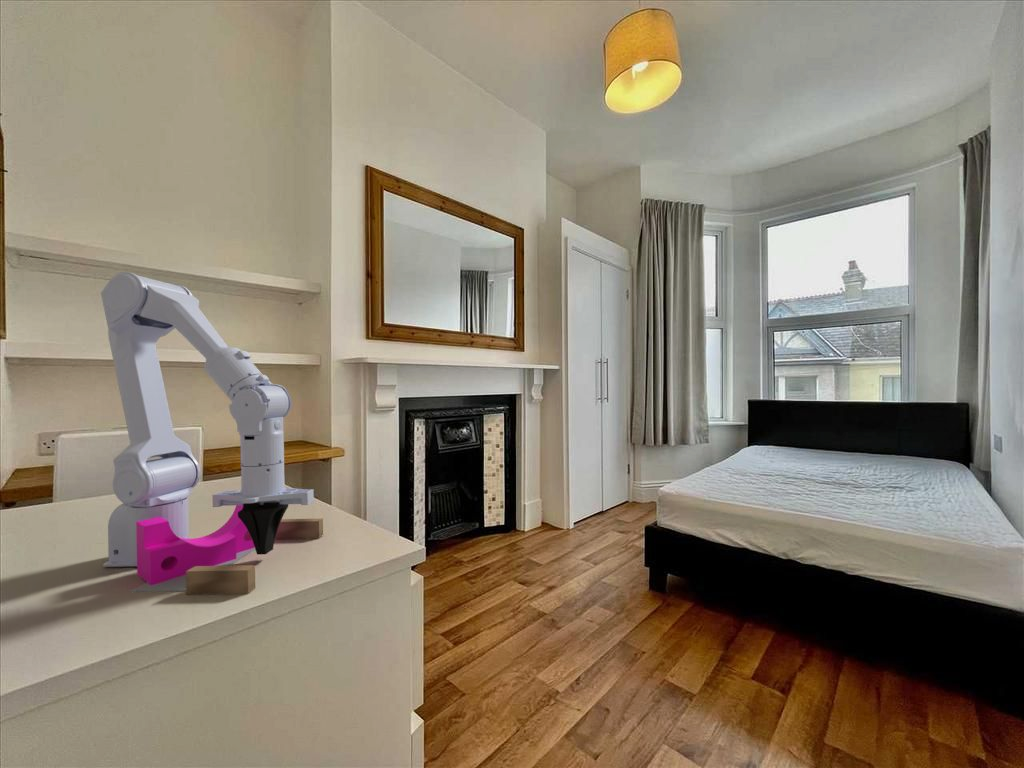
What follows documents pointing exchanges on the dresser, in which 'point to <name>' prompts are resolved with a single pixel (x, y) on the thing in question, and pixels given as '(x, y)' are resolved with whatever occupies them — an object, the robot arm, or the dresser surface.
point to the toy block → (186, 548)
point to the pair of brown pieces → (244, 576)
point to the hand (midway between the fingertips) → (264, 551)
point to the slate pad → (183, 578)
